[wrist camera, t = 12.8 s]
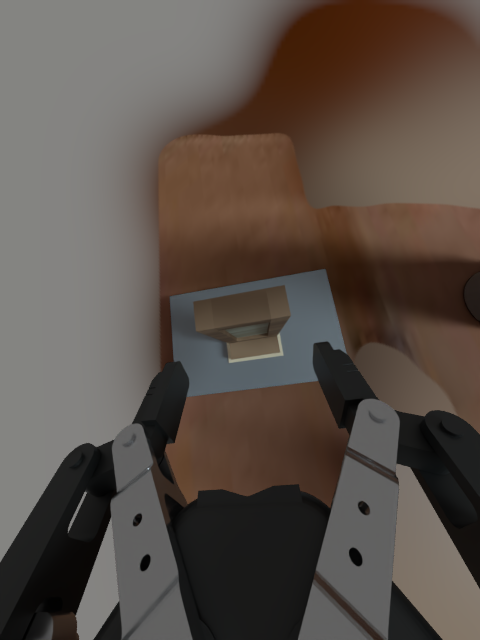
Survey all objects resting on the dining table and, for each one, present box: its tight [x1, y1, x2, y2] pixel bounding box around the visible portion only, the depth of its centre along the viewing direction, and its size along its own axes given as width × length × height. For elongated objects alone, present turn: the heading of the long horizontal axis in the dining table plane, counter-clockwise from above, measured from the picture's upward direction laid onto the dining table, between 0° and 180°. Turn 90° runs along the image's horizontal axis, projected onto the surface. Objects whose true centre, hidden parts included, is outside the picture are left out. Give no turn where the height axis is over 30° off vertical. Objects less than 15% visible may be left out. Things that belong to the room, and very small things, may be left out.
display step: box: [170, 269, 347, 397], centre depth 27 cm, size 22×14×5 cm, turn 98°
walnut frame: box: [193, 285, 291, 360], centre depth 18 cm, size 6×6×13 cm
